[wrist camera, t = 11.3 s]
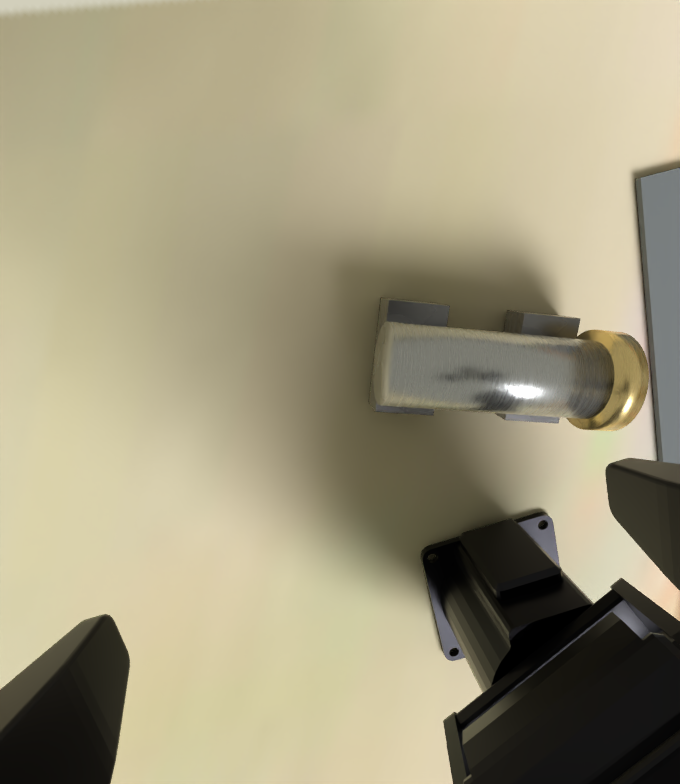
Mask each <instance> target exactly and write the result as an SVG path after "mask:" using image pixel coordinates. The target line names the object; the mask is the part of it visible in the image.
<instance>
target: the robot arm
mask: <svg viewBox="0 0 680 784" xmlns="http://www.w3.org/2000/svg"><path fill="white" fill-rule="evenodd" d="M606 483H607V492H608V500H609V507H610V510H611V512H612V514H613V516H614V517H615V519H616V520H617V521H618V522H619V523H620V525H621V526H622V527H623V528H624V529H625V530H626V531H627V533H628V534H629V535H630V536H631V537H632V538H633V539H634V541H635V542H636V543H637V544H638V545H639V546H640V547H641V549H642V550H643V551H644V552H645V553H646V554H647V555H648V557H649V558H650V559H651V560H652V561H653V562H654V563H655V564H656V566H657V567H658V568H659V569H660V570H661V571H662V572H663V574H664V575H665V576H666V577H667V578H668V579H669V580H670V581H671V582H672V583H673V584H674V585H675V586H676V587H677V588H678V589H679V590H680V464H676V463H668V462H659V461H651V460H643V459H635V458H627V459H623V460H620V461H616V462H613V463H610V464H609V465H608V466H607V467H606ZM542 520H545V523H544V524H543V525H542V526H539V527H538V524H539V522H540V521H542ZM430 554H436V556H435V558H433V559H430V560H429V559H428V556H429V555H430ZM421 561H422V565H423V570H424V574H425V578H426V582H427V587H428V591H429V595H430V599H431V604H432V608H433V612H434V616H435V621H436V625H437V629H438V633H439V637H440V642H441V646H442V650H443V653H444V655H445V657H446V658H447V659H448V660H451V661H454V660H458V659H461V658H466V660H467V662H468V664H469V666H470V668H471V670H472V672H473V674H474V676H475V678H476V680H477V682H478V684H479V686H480V688H481V690H482V692H483V693H482V694H481V695H480V696H478V697H477V698H476V699H475V700H473V701H472V702H471V703H470V704H468V705H467V706H466V707H465V708H463V709H462V710H461V711H460V712H458V713H455V712H454V713H452V714H451V715H450V716H449V717H447V718H446V719H445V720H444V721H443V723H444V729H445V735H446V741H447V749H448V755H449V761H450V767H451V773H452V779H453V784H680V621H678V620H677V619H676V618H674V617H673V616H672V615H670V614H669V613H668V612H666V611H665V610H664V609H662V608H661V607H660V606H658V605H657V604H656V603H654V602H653V601H652V600H650V599H649V598H648V597H646V596H645V595H644V594H642V593H641V592H640V591H638V590H637V589H636V588H634V587H633V586H632V585H630V584H629V583H628V582H626V581H625V580H624V579H622V578H620V579H619V580H618V581H617V582H615V583H614V584H613V585H612V586H610V587H611V589H612V590H610V591H609V592H608V593H607V594H605V595H604V596H603V597H602V598H600V599H599V600H598V601H597V602H595V603H593V602H592V601H591V600H590V599H589V598H588V597H587V596H586V595H585V594H584V593H583V592H582V591H581V590H580V589H579V588H578V587H577V586H576V585H575V583H574V582H573V581H572V580H571V579H570V578H569V577H568V576H567V575H566V574H565V573H564V572H563V571H562V569H561V567H560V565H559V559H558V552H557V545H556V539H555V532H554V525H553V521H552V519H551V518H550V517H549V516H548V515H547V514H546V513H543V512H540V513H536V514H532V515H529V516H526V517H522V518H519V519H516V520H512V519H508V520H504V521H501V522H498V523H495V524H491V525H488V526H485V527H481V528H478V529H475V530H471V531H468V532H465V533H463V534H462V535H461V536H459V537H456V538H453V539H449V540H446V541H443V542H439V543H436V544H433V545H429V546H427V547H425V548H424V549H423V550H422V552H421ZM452 648H457V649H456V650H455V651H453V652H449V651H450V650H451V649H452ZM129 668H130V659H129V654H128V651H127V648H126V646H125V644H124V642H123V639H122V637H121V635H120V633H119V630H118V628H117V626H116V624H115V622H114V620H113V618H112V617H111V616H110V615H107V614H103V615H100V616H96V617H93V618H90V619H86V620H84V621H82V622H81V623H79V624H78V625H77V626H76V627H75V628H73V629H72V630H71V631H70V632H69V633H67V634H66V635H65V636H64V637H63V638H61V639H60V640H59V641H58V642H57V643H55V644H54V645H53V646H52V647H51V648H49V649H48V650H47V651H46V652H45V653H43V654H42V655H41V656H40V657H39V658H38V659H36V660H35V661H34V662H33V663H32V664H30V665H29V666H28V667H27V668H26V669H24V670H23V671H22V672H21V673H20V674H18V675H17V676H16V677H15V678H14V679H12V680H11V681H10V682H9V683H8V684H6V685H5V686H4V687H3V688H2V689H0V784H110V783H111V779H112V774H113V770H114V765H115V761H116V755H117V749H118V743H119V737H120V730H121V723H122V716H123V709H124V703H125V696H126V689H127V682H128V675H129Z"/></svg>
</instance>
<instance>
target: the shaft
mask: <svg viewBox="0 0 680 784" xmlns="http://www.w3.org/2000/svg"><path fill="white" fill-rule="evenodd" d="M449 307H450V306H448V305H443V304H438V303H429V302H419V301H409V300H399V299H389V298H381V301H380V309H379V318H378V326H377V335H376V343H375V352H374V360H373V369H372V377H371V386H370V394H369V403H370V405H371V406H372V407H373V409H374V410H375V412H389V413H404V414H420V415H433V414H434V409H441V410H456V411H471V412H487V413H495V414H497V415H498V416H500V417H501V418H503V419H504V420H513V421H529V422H545V423H559V418H560V417H562V418H567V419H568V420H569V422H570V423H571V424H573V425H574V426H575V427H577V428H580V429H584V430H600V431H615V430H619V429H621V428H623V427H625V426H627V425H628V424H629V423H630V422H631V421H632V420H633V419H634V418H635V417H636V415H637V414H638V413H639V411H640V409H641V407H642V405H643V403H644V400H645V397H646V394H647V389H648V381H649V371H648V364H647V359H646V356H645V353H644V351H643V349H642V347H641V346H640V344H639V343H638V342H637V341H636V340H635V339H634V338H633V337H632V336H630V335H628V334H626V333H622V332H613V331H602V330H589V331H586V332H584V333H582V334H580V335H579V336H577V333H578V328H579V323H580V319H579V318H573V317H566V316H560V315H550V314H540V313H530V312H520V311H510V310H507V316H506V321H505V327H504V332H496V331H485V330H474V329H464V328H453V327H447V321H448V314H449Z"/></svg>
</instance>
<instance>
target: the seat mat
mask: <svg viewBox="0 0 680 784" xmlns="http://www.w3.org/2000/svg"><path fill="white" fill-rule="evenodd" d="M636 191H637V203H638V216H639V228H640V240H641V252H642V264H643V277H644V289H645V301H646V313H647V325H648V338H649V350H650V362H651V374H652V387H653V399H654V411H655V423H656V435H657V448H658V460H659V462H668V463H676V464H680V168H676V169H672V170H668V171H665V172H661V173H657V174H653V175H649V176H645V177H642V178H638V179H636Z"/></svg>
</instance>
